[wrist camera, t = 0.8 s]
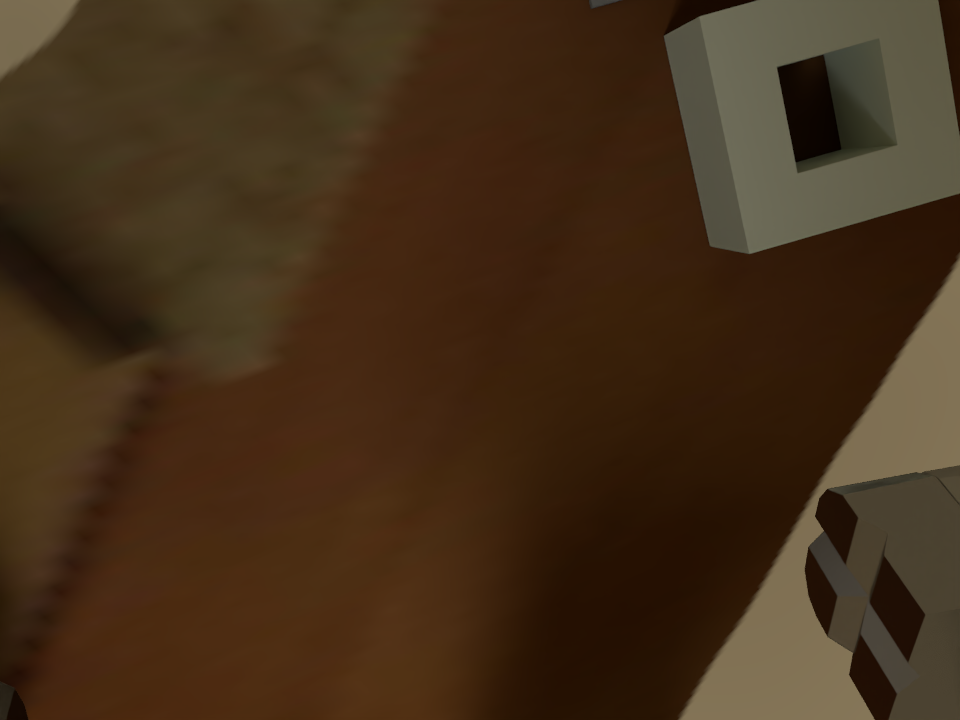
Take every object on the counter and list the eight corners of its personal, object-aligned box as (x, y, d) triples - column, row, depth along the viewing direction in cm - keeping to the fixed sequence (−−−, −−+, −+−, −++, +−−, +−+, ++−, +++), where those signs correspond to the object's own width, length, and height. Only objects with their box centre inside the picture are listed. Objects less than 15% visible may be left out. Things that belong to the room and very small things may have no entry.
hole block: (905, 190, 45) (968, 190, 40) (709, 246, 44) (749, 253, 39) (868, -21, 42) (930, -48, 38) (663, 35, 42) (699, 16, 37)
